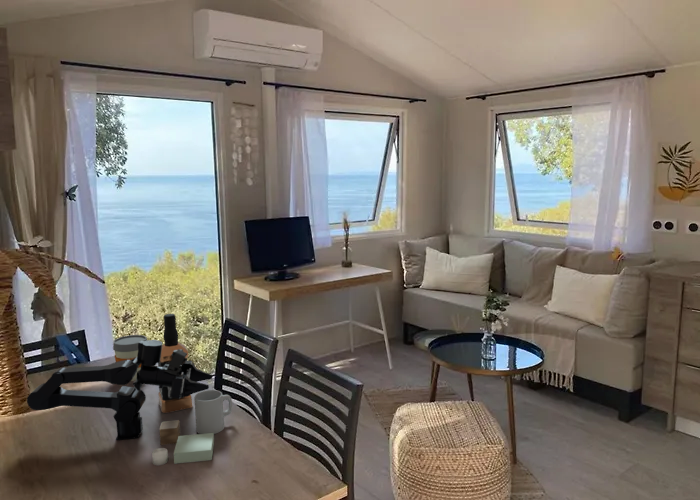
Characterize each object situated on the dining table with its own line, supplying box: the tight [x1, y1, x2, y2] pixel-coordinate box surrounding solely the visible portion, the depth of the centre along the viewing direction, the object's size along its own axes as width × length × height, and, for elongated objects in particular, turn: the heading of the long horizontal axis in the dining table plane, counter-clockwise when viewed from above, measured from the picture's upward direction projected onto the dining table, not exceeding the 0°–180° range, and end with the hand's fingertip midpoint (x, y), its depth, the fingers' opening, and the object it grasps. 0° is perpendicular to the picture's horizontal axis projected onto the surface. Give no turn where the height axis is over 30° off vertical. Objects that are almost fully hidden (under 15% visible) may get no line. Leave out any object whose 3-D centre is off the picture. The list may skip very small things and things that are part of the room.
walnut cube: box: [159, 419, 181, 446], centre depth 165 cm, size 5×5×5 cm
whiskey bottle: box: [157, 313, 193, 414], centre depth 187 cm, size 10×10×32 cm
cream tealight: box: [151, 447, 169, 466], centre depth 153 cm, size 4×4×3 cm
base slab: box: [173, 433, 215, 465], centre depth 158 cm, size 10×10×3 cm
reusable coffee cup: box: [112, 334, 148, 382], centre depth 214 cm, size 13×12×15 cm
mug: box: [194, 389, 233, 435], centre depth 172 cm, size 12×8×11 cm
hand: (210, 381), depth 170 cm, fingers open, 9 cm apart
